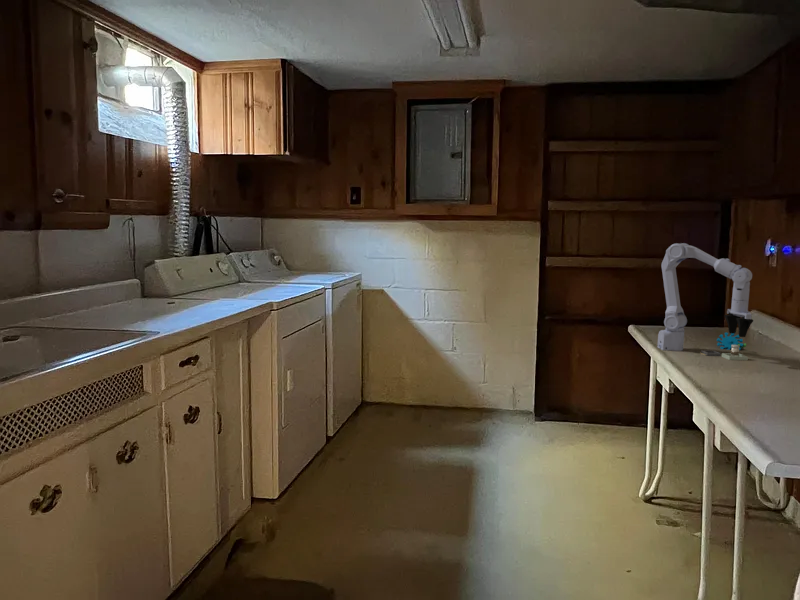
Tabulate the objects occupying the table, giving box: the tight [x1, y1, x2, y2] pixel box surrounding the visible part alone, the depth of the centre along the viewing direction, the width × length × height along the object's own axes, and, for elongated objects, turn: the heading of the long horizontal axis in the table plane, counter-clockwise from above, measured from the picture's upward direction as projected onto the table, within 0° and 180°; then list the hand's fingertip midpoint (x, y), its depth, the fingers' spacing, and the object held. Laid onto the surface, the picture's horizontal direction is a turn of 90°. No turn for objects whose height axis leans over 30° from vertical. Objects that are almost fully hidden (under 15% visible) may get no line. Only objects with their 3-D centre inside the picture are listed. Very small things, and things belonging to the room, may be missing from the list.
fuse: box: [730, 345, 740, 356], centre depth 259 cm, size 3×3×6 cm
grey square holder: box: [699, 349, 722, 357], centre depth 266 cm, size 7×6×2 cm
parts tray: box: [721, 352, 749, 361], centre depth 259 cm, size 7×6×2 cm
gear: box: [716, 332, 747, 351], centre depth 281 cm, size 11×6×10 cm
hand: (737, 335), depth 260 cm, fingers open, 7 cm apart
